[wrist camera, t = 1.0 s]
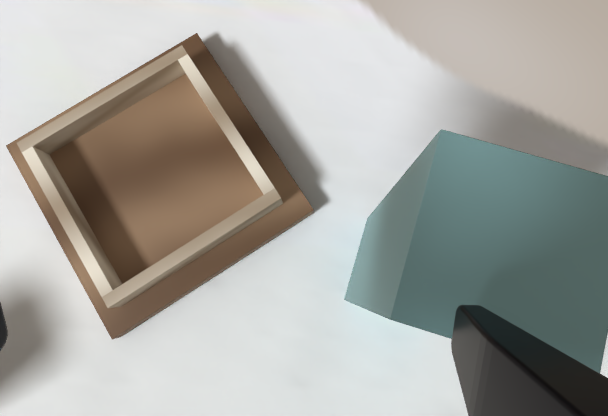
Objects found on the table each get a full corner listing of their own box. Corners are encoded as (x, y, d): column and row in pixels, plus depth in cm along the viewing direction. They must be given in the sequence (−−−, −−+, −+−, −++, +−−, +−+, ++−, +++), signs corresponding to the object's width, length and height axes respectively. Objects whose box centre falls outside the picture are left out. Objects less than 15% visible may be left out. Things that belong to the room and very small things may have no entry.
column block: (448, 242, 24) (635, 184, 10) (427, 325, 23) (597, 384, 9) (367, 218, 24) (441, 129, 10) (344, 299, 24) (389, 319, 10)
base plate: (313, 212, 24) (313, 204, 22) (120, 337, 23) (97, 343, 21) (201, 42, 26) (189, 17, 24) (18, 151, 25) (-14, 136, 23)
